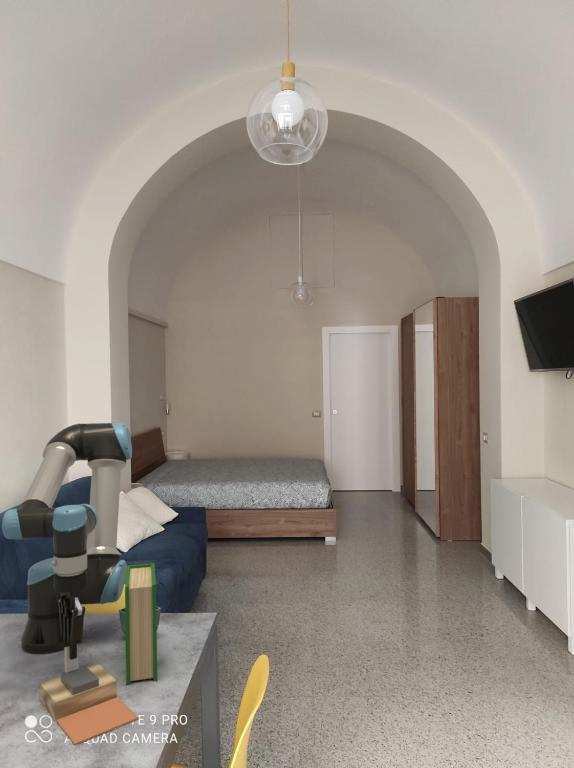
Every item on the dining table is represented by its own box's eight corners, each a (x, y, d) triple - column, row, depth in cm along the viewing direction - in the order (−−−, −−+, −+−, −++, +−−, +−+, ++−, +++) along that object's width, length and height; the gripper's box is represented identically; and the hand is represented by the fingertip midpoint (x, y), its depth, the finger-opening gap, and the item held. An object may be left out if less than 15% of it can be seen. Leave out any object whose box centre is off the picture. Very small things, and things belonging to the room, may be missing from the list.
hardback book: (157, 681, 142) (155, 584, 142) (126, 685, 140) (124, 587, 140) (155, 649, 159) (154, 563, 159) (127, 653, 157) (126, 565, 157)
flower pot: (143, 630, 171) (143, 600, 171) (162, 638, 166) (161, 607, 166) (118, 641, 165) (117, 609, 165) (136, 649, 159) (136, 617, 159)
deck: (39, 700, 134) (39, 683, 134) (98, 679, 143) (98, 663, 143) (55, 720, 126) (55, 702, 126) (116, 697, 135) (116, 680, 135)
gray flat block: (60, 681, 135) (60, 674, 135) (86, 672, 138) (85, 666, 138) (72, 695, 128) (72, 688, 128) (98, 685, 132) (98, 678, 132)
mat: (56, 721, 125) (56, 720, 125) (117, 698, 134) (117, 696, 134) (74, 745, 117) (74, 743, 117) (138, 719, 126) (138, 717, 126)
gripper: (45, 568, 140) (46, 665, 140) (63, 581, 130) (64, 686, 130) (76, 562, 145) (77, 656, 144) (96, 574, 135) (97, 675, 134)
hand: (71, 670), depth 137 cm, fingers closed
